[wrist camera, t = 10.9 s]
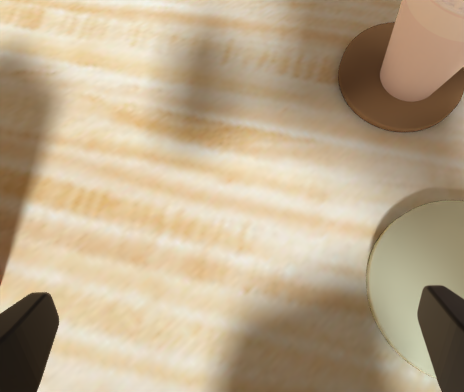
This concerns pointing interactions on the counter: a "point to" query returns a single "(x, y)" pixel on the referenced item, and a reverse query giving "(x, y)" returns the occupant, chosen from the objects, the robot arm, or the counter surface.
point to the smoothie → (423, 48)
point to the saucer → (415, 273)
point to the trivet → (378, 99)
